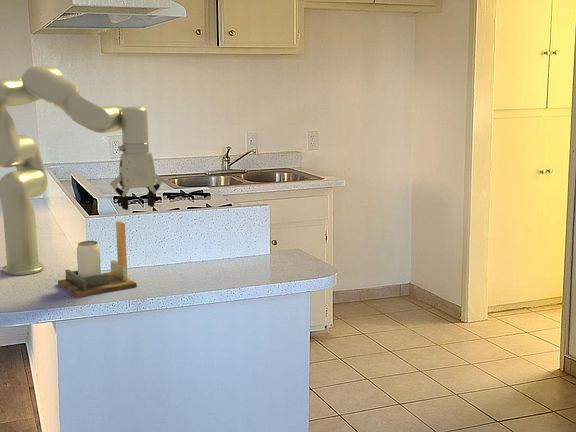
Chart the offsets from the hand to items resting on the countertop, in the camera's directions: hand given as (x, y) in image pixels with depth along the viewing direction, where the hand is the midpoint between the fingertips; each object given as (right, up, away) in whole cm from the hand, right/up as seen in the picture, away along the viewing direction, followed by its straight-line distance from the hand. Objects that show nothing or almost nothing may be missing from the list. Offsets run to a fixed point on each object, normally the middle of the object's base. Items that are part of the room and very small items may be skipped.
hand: (138, 207), depth 234 cm
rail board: (-12, -23, -4) cm, 27 cm away
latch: (-5, -21, 0) cm, 21 cm away
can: (-13, -22, -5) cm, 26 cm away
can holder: (-14, -22, -5) cm, 27 cm away
